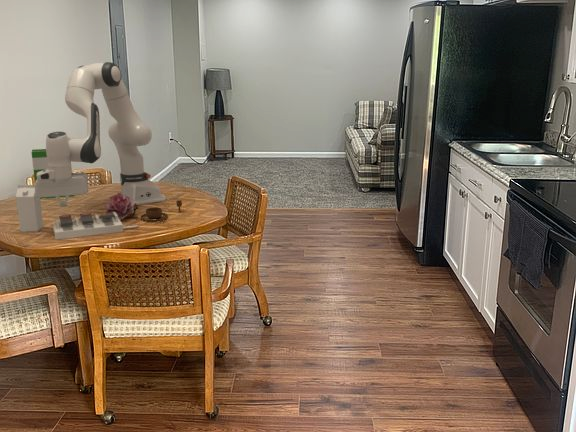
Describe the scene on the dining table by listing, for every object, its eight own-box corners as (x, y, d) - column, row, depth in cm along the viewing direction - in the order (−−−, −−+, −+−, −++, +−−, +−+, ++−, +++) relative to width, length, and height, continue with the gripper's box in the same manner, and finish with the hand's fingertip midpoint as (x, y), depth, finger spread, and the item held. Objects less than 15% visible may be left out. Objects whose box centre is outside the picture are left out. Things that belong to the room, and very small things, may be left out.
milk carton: (26, 227, 239) (20, 183, 234) (43, 226, 240) (38, 183, 234) (20, 232, 232) (14, 187, 227) (37, 231, 233) (32, 186, 228)
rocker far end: (71, 218, 235) (70, 214, 234) (73, 226, 230) (72, 221, 229) (59, 219, 233) (59, 215, 233) (61, 227, 228) (61, 223, 227)
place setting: (138, 215, 259) (137, 203, 257) (181, 211, 266) (181, 199, 264) (143, 226, 243) (142, 213, 242) (189, 221, 250) (188, 209, 249)
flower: (103, 207, 259) (104, 188, 254) (136, 209, 263) (138, 191, 259) (101, 225, 247) (102, 205, 242) (136, 227, 251) (138, 208, 246)
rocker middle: (91, 216, 239) (90, 212, 238) (93, 223, 233) (93, 219, 232) (80, 217, 237) (79, 213, 236) (82, 225, 231) (82, 220, 230)
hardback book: (36, 199, 285) (31, 151, 279) (37, 195, 292) (32, 149, 285) (74, 196, 291) (69, 150, 285) (74, 193, 298) (69, 147, 291)
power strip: (133, 221, 248) (132, 209, 246) (139, 229, 236) (138, 216, 235) (53, 230, 234) (52, 217, 233) (55, 239, 223) (54, 226, 221)
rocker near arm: (111, 217, 242) (110, 213, 242) (113, 218, 236) (113, 213, 235) (100, 219, 240) (100, 214, 240) (102, 219, 234) (102, 215, 234)
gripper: (86, 169, 235) (89, 202, 239) (32, 173, 227) (36, 206, 230) (88, 172, 229) (90, 205, 233) (33, 176, 221) (36, 210, 225)
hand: (63, 206), depth 232 cm, fingers closed
